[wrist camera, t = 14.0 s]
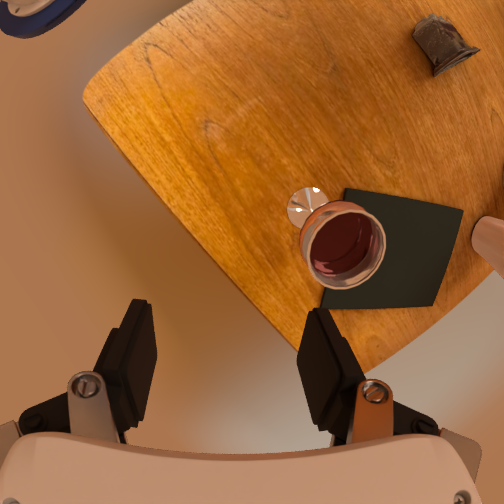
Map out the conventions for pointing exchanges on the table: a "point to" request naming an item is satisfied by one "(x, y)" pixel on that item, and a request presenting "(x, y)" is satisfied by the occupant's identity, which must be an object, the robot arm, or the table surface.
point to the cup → (490, 242)
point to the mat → (402, 253)
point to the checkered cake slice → (442, 43)
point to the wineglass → (336, 238)
